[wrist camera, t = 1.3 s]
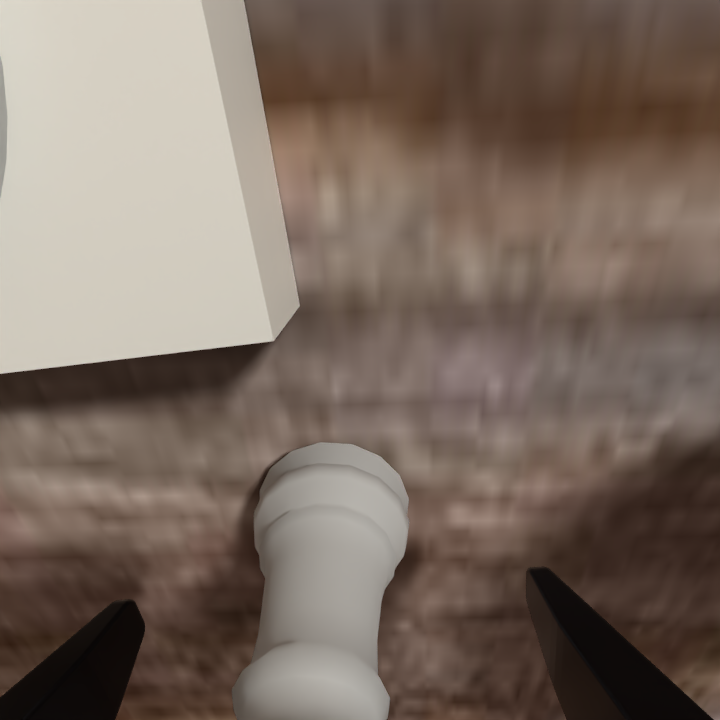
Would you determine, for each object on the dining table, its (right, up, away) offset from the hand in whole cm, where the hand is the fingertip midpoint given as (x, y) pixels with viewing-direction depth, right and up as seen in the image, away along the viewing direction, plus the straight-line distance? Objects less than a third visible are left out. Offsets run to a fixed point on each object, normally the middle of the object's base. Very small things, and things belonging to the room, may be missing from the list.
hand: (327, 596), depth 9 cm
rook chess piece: (0, +1, +3) cm, 4 cm away
